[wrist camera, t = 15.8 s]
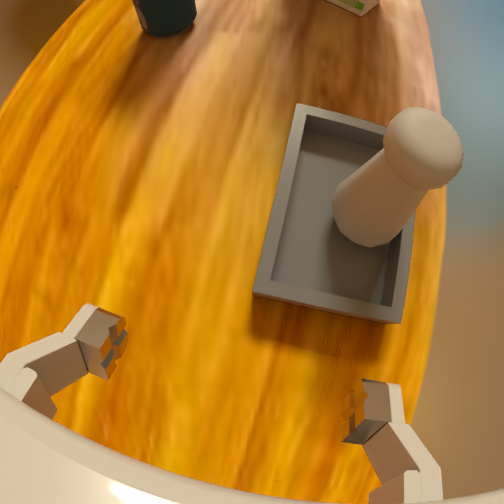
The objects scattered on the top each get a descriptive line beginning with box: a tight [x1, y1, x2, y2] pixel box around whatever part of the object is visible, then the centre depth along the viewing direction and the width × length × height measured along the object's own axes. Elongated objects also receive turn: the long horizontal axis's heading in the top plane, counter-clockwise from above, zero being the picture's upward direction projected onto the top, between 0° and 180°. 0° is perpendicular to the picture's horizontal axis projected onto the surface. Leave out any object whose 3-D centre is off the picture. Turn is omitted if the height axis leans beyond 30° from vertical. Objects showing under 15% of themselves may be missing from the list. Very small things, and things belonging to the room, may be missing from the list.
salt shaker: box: [332, 107, 464, 247], centre depth 19 cm, size 6×6×13 cm
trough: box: [252, 103, 415, 324], centre depth 25 cm, size 16×11×3 cm
